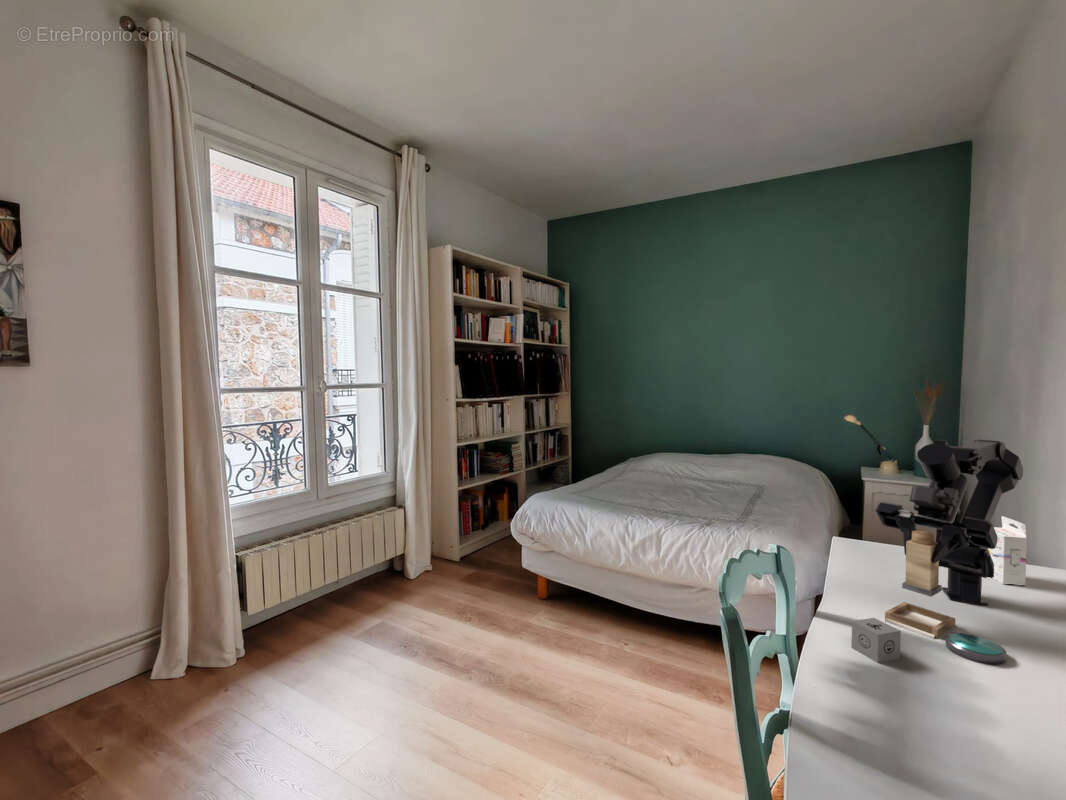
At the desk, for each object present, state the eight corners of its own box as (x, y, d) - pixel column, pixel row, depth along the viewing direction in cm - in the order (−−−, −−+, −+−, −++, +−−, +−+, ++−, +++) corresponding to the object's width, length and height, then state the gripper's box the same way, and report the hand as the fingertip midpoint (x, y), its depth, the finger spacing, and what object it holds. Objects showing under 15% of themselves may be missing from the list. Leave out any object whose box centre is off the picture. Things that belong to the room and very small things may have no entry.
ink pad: (939, 636, 93) (940, 628, 93) (995, 646, 90) (995, 638, 90) (953, 657, 86) (953, 648, 86) (1014, 669, 82) (1015, 660, 82)
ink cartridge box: (977, 571, 126) (979, 514, 125) (1000, 573, 125) (1002, 515, 124) (1002, 584, 118) (1004, 523, 117) (1026, 586, 117) (1029, 524, 116)
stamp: (912, 582, 102) (913, 528, 101) (941, 590, 98) (942, 534, 97) (902, 588, 99) (903, 532, 98) (931, 596, 95) (932, 538, 94)
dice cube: (851, 648, 89) (852, 621, 89) (873, 644, 90) (873, 617, 90) (877, 663, 84) (878, 634, 84) (899, 659, 86) (900, 630, 86)
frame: (905, 608, 105) (905, 601, 105) (956, 625, 98) (956, 617, 97) (883, 620, 100) (883, 612, 99) (935, 639, 92) (935, 630, 92)
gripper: (880, 464, 107) (853, 522, 102) (994, 478, 92) (969, 548, 86) (896, 496, 112) (871, 553, 106) (1007, 514, 96) (984, 583, 91)
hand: (919, 558), depth 97 cm, fingers closed on stamp, 4 cm apart
